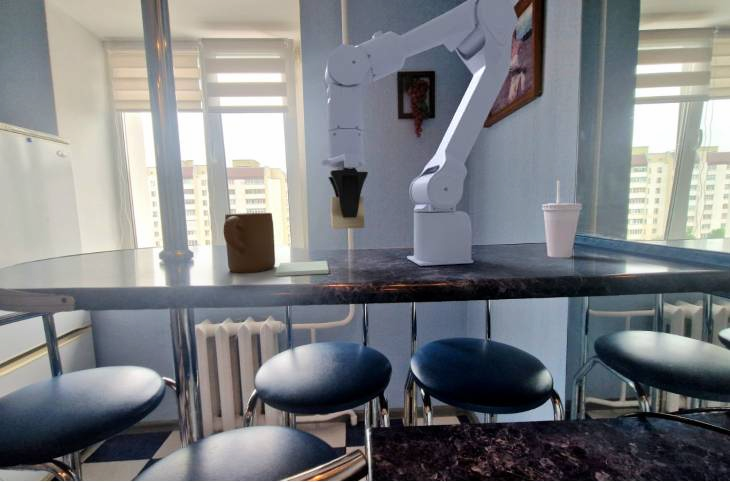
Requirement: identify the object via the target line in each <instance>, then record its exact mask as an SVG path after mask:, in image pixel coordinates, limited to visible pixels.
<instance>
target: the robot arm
mask: <svg viewBox="0 0 730 482" xmlns="http://www.w3.org/2000/svg"><path fill="white" fill-rule="evenodd" d="M476 2H477V0H466V1H464V2H463V3H461V4H459V5H458V6H456V7H454V8H452V9H450V10H448V11H446V12H445V13H442V14H440V15H438V16H437V17H435V18H433V19H431V20H429V21H426V22H424V23H423V24H420V25H418V26H417V27H415V28H413V29H411V30H409V31H407V32H404V33H403V34H401V35H399V34H397V32H394V31H389V30H388V31H387V32H385V33H383V32H382V31H381V30H379V31H377V32H374V33H373V35H372V38H371V39H369V40H367V41H364V42H362V43H360V44H357V45H355V46H354V44H339V45H338V46H337V47H336V48H335V49H334V50H332V52H330V54H329V56H328V59H327V61H326V62H327V63H326V69H325V73H324V74H325V75H324V79H323V83H324V86H325V88H326V95H327V99H328V101H327V102H326V103H327V104H326V113H327V116H326V117H327V119H326V120H327V141H328V145H327V146H328V147H327V148H328V159H322V160H321V166H328V167H330V168H333V169H335V170H330V175H331V176H328V180H329V182H330V184H331V186H332V188H333V191H334V195H335V197H339V201H340V207H341V212H342V215H343V218H348V217H357V213H358V207H359V201H360V196H361V195H362V189H363V186H364V184H365V181H366V179H367V176H368V174H369V173H368V172H369V171H358V169H357V168H360V167H364V166H366V159H365V155H364V154H365V151H364V147H365V146H364V114H363V113H364V111H363V110H364V109H363V108H364V107H363V106H364V105H363V104H364V103H363V100H362V97H363V96H362V86H363V85H369V84H373V83H374V82H376V81H378V80H380V79H383V78H385V77H387V76H388V75H392V74H393V73H396V72H398V71H400V70H402V69H403V68H404V64H405V62H406V59H407V58H410V57H413V56H415V55H417V54H418V55H419V54H420V53H423V52H425V51H428V50H431V49H433V48H436V47H438V46H441V45H444V46H445V48H446V49H447V50H448V51H449V52H451V53H453V51H455V52H456V54H457V55H458V56H459V58H460V59H461V61H462V62H463V63H464V64H465V66H466V67H467V69H468V70H469V71H470V73H471V74H472V75H473V76H472V79H471V81H470V83H469V85H468V87H467V89H466V91H465V93H464V95H463V96H462V99H461V102H460V104H459V105H458V107H457V109H456V110H455V111H456V112H455V114H454V115H453V118H452V120H451V122H450V124H449V126H448V128H447V130H446V131H445V133H444V136H443V138H442V141H441V142H440V144H439V146H438V148H437V150H436V153H435V154H434V155H433V157H432V158H431V159H430V160H429V161H428V163H427V164H426V165H425V166H424V168H423V170H422V172H421V173H420V175H418V176H417V177H415V178H414V179H413V180H412V182H411V184H410V186H409V191H408V193H409V199H410V201H411V202H412V204H413V205H415V206H414V208H413V255H407V256H406V258H407V259H408V260H410V261H411V262H413V263H415V264H416V265H418V266H439V265H440V266H441V265H443V266H444V265H457V264H472V263H474V260H473V259H472V235H473V234H472V233H473V232H472V229H473V228H472V221H471V217H470V215H469V214H468V213H467V212H465V211H457V204H458V203H459V202H460V201H461V199H462V198H463V194H464V193H463V192H464V182H465V180H466V176H467V174H468V170H467V168H466V165H465V163H466V160H467V158H468V157H469V155H470V153H471V150H472V148H473V147H474V145H475V143H476V141H477V138H478V136H479V134H480V132H481V130H482V128H483V127H484V124H485V122H486V120H487V118H488V116H489V114H490V112H491V110H492V108H493V106H494V103H495V102H496V99H497V98H498V95H499V94H500V91H501V90H502V88H503V86H504V83H505V81H506V79H507V77H508V76H509V72H510V69H511V62H512V61H511V58H512V44H513V43H512V42H513V34H514V32H515V30H516V27H517V25H518V21H519V19H518V15H517V13H516V10H515V8H514V4H513V2H512V0H479V1H478V3H477V4H476Z"/></svg>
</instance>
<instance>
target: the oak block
mask: <svg viewBox="0 0 730 482" xmlns="http://www.w3.org/2000/svg"><path fill="white" fill-rule="evenodd" d="M329 199H330V221H331V228H332V229H333V230H338V229H339V230H344V229H345V230H346V229H364V228H365V207H364V206H365V205H364V196H361V195H360V201H359V207H358V213H357V217H348V218H343V215H342V212H341V207H340V201H339V197H336V196H332V197H330V198H329Z"/></svg>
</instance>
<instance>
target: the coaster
mask: <svg viewBox="0 0 730 482" xmlns="http://www.w3.org/2000/svg"><path fill="white" fill-rule="evenodd" d="M329 270H330V269H329V266H328V261H327V260H316V261H315V260H314V261H295V262H293V261H292V262H280V263H279V264H278V266H277V268H276V270H275V272H274V275H275V277H286V276H287V277H288V276H302V275H306V276H307V275H323V274H330V272H329Z"/></svg>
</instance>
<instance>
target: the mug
mask: <svg viewBox="0 0 730 482" xmlns="http://www.w3.org/2000/svg"><path fill="white" fill-rule="evenodd" d="M224 217H225V219H224V223H223V238H224V240H225V244H226V253H227V254H226V255H227V266H228V269H229V271H230V272H232V273H238V274H239V273H240V274H250V273H259V272H260V273H261V272H265V271H269V270H272V269H274V267H275V266H276V265H275V264H276V255H275V252H276V251H275V250H276V249H275V236H274V235H275V233H274V229H275V228H274V221H273V220H274V219H273V213H272V212H245V213H240V212H239V213H227V214H226V213H225V216H224Z"/></svg>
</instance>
